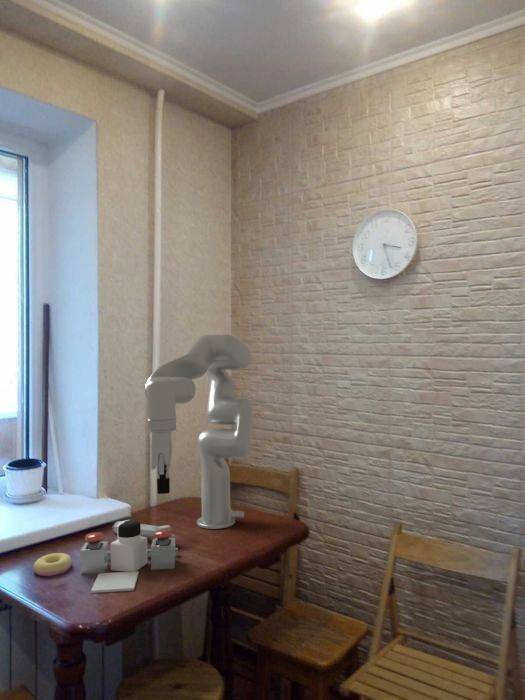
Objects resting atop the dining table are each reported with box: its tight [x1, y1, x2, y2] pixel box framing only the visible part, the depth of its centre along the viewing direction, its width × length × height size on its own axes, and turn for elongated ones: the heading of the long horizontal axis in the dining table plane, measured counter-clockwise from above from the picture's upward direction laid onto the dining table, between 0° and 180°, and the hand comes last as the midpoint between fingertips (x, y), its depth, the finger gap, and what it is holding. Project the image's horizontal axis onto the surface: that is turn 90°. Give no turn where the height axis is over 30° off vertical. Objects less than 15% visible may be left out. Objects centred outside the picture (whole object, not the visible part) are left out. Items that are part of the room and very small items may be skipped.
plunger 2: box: [154, 529, 173, 545], centre depth 144 cm, size 5×5×8 cm
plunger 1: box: [84, 531, 104, 549], centre depth 142 cm, size 5×5×8 cm
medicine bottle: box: [109, 519, 149, 572], centre depth 143 cm, size 7×7×12 cm
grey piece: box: [111, 520, 176, 539], centre depth 164 cm, size 5×7×25 cm
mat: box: [90, 570, 139, 594], centre depth 133 cm, size 10×10×1 cm
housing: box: [79, 538, 179, 575], centre depth 145 cm, size 25×10×6 cm, turn 97°
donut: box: [33, 552, 73, 577], centre depth 142 cm, size 10×5×9 cm
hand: (163, 492), depth 145 cm, fingers closed
